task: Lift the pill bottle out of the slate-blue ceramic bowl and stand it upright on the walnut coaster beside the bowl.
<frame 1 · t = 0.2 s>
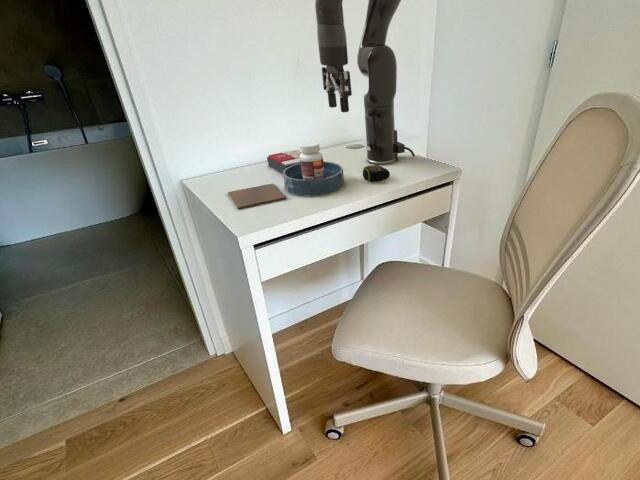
hand: (338, 109, 113), 17 cm above the table, tool pointing down, fingers open, 8 cm apart
bowl: (315, 185, 110), on the table
tape measure: (376, 180, 114), on the table
pill bottle: (315, 185, 110), resting on bowl
coaster: (257, 196, 103), on the table
calculator: (294, 169, 122), on the table
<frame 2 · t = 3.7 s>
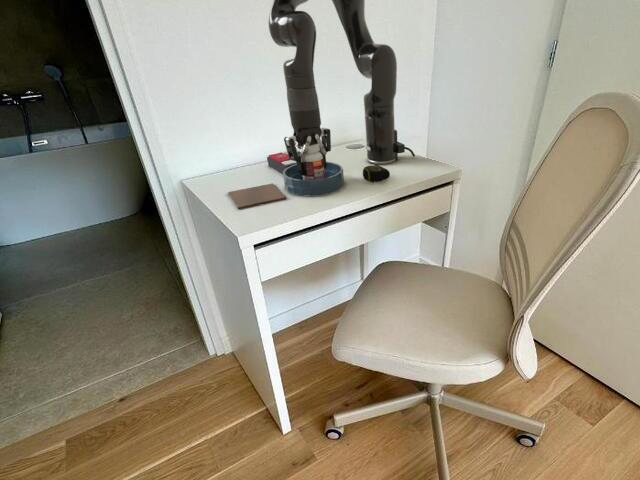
hand: (313, 171, 107), 4 cm above the table, tool pointing down, fingers closed on pill bottle, 6 cm apart
pill bottle: (315, 185, 110), resting on bowl, touching gripper
everything else where it was.
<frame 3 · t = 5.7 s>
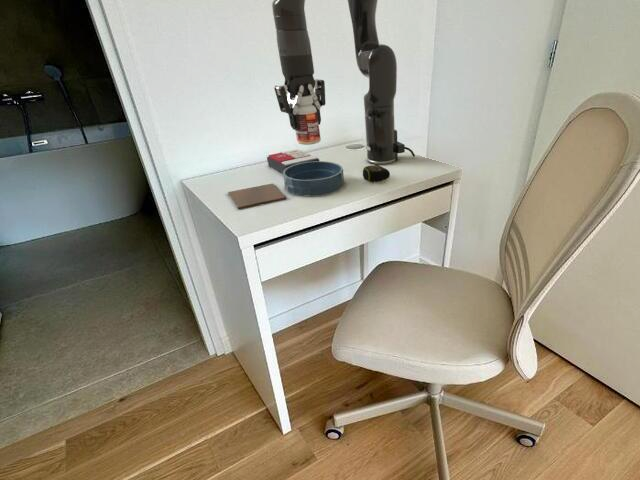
hand: (306, 126, 101), 16 cm above the table, tool pointing down, fingers closed on pill bottle, 6 cm apart
pill bottle: (309, 142, 103), point 12 cm above the table, touching gripper
everything else where it was.
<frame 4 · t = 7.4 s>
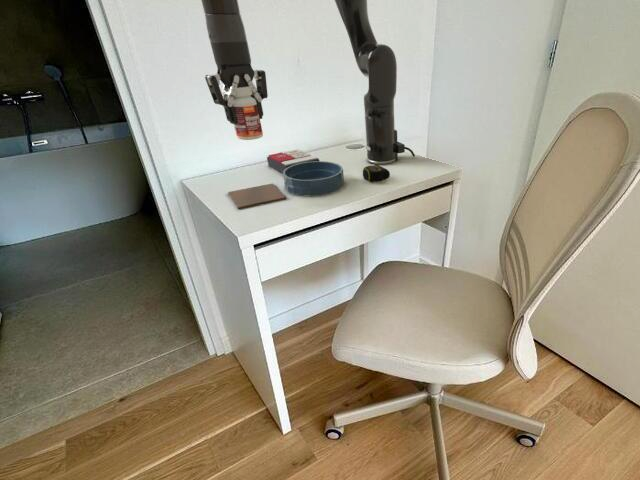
hand: (246, 120, 93), 19 cm above the table, tool pointing down, fingers closed on pill bottle, 6 cm apart
pill bottle: (250, 138, 96), point 15 cm above the table, touching gripper
everything else where it was.
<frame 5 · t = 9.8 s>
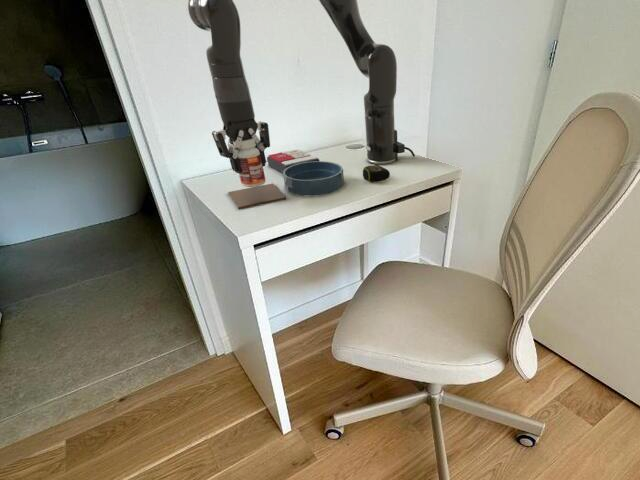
hand: (250, 168, 99), 7 cm above the table, tool pointing down, fingers closed on pill bottle, 6 cm apart
pill bottle: (254, 184, 101), point 3 cm above the table, touching gripper
everything else where it was.
when the fingers open (4 cm above the table, at t = 11.3 s): pill bottle stays where it is, resting on coaster.
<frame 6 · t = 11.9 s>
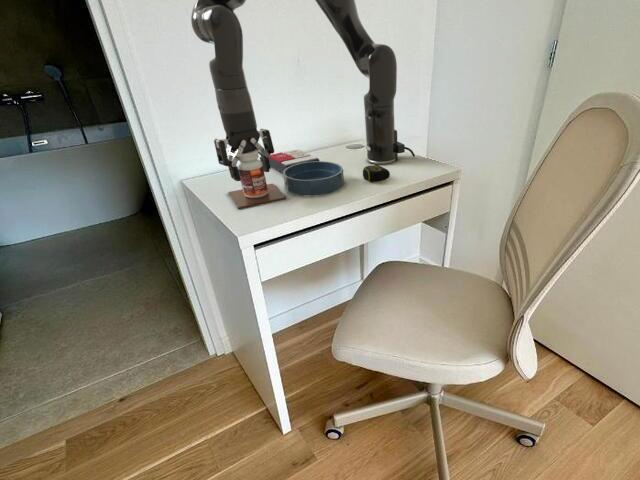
hand: (252, 175, 100), 6 cm above the table, tool pointing down, fingers open, 8 cm apart
pill bottle: (256, 195, 103), resting on coaster
everything else where it was.
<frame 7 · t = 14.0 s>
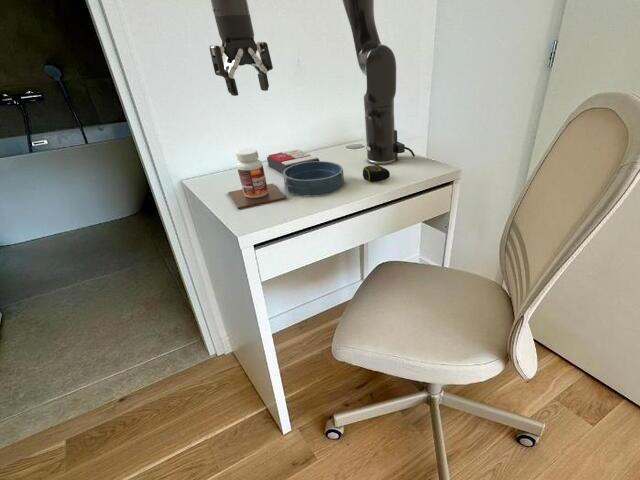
hand: (250, 92, 96), 24 cm above the table, tool pointing down, fingers open, 8 cm apart
nothing on the table moved.
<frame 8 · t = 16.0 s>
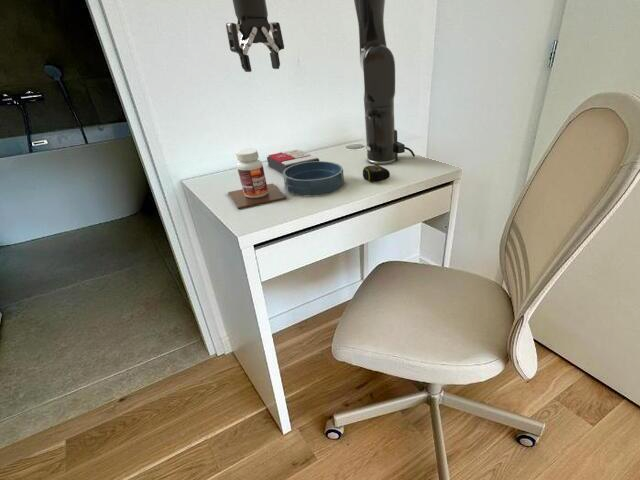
hand: (262, 70, 101), 28 cm above the table, tool pointing down, fingers open, 8 cm apart
nothing on the table moved.
at the end: pill bottle inside the target area on the coaster (0.0 cm from its centre), point 0.4 cm above the coaster's base; pill bottle tilted 0°; the gripper is holding nothing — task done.
